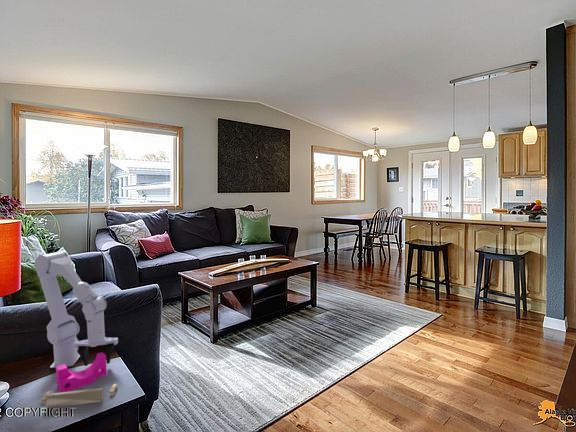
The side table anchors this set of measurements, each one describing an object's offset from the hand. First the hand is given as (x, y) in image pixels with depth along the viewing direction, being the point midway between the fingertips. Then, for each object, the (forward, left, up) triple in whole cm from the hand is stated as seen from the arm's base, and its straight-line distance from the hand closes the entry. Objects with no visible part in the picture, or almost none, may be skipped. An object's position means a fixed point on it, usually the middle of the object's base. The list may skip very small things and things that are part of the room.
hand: (97, 363), depth 132 cm
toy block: (+9, -2, -2) cm, 9 cm away
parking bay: (+18, 0, -2) cm, 19 cm away
